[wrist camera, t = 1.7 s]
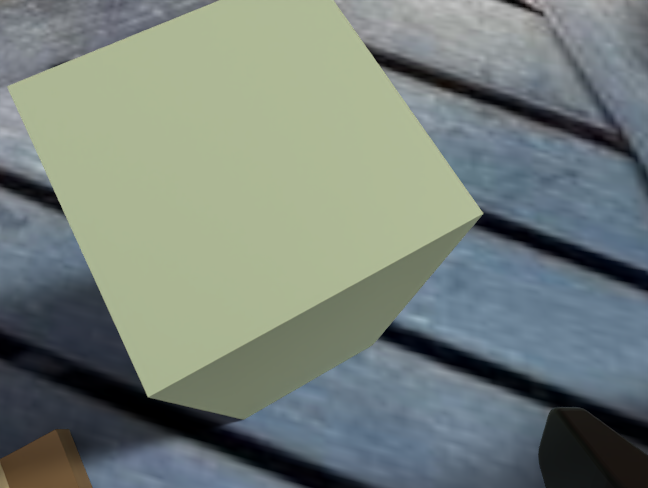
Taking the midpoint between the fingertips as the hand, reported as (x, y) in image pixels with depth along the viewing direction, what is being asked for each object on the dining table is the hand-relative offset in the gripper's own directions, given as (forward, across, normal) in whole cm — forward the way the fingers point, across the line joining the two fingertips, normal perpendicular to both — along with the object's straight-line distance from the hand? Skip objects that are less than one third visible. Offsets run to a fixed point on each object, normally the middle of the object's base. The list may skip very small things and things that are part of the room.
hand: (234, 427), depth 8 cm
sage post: (+10, 0, +5) cm, 11 cm away
